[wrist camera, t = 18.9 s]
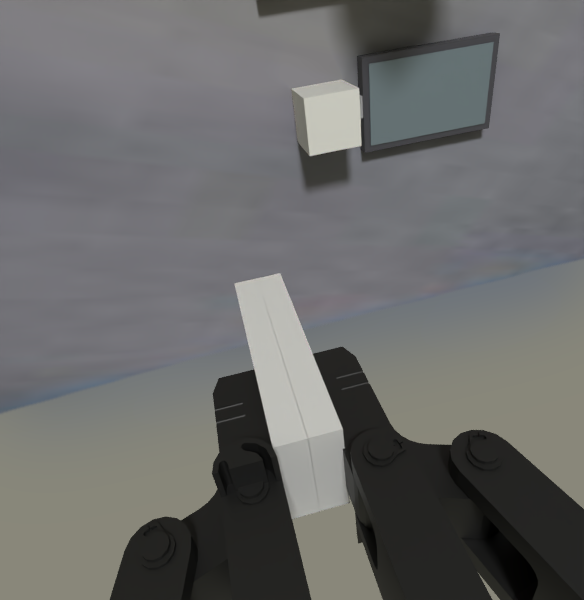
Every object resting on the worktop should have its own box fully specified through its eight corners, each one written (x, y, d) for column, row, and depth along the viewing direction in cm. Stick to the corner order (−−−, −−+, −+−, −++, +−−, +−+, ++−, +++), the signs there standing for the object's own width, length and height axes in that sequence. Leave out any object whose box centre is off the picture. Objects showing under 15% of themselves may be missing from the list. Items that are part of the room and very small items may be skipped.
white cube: (297, 141, 37) (309, 156, 34) (291, 88, 35) (303, 98, 32) (352, 131, 38) (369, 144, 35) (349, 77, 35) (367, 86, 32)
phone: (359, 149, 39) (363, 153, 38) (355, 56, 35) (360, 58, 34) (482, 125, 40) (489, 128, 39) (492, 32, 36) (500, 33, 35)
